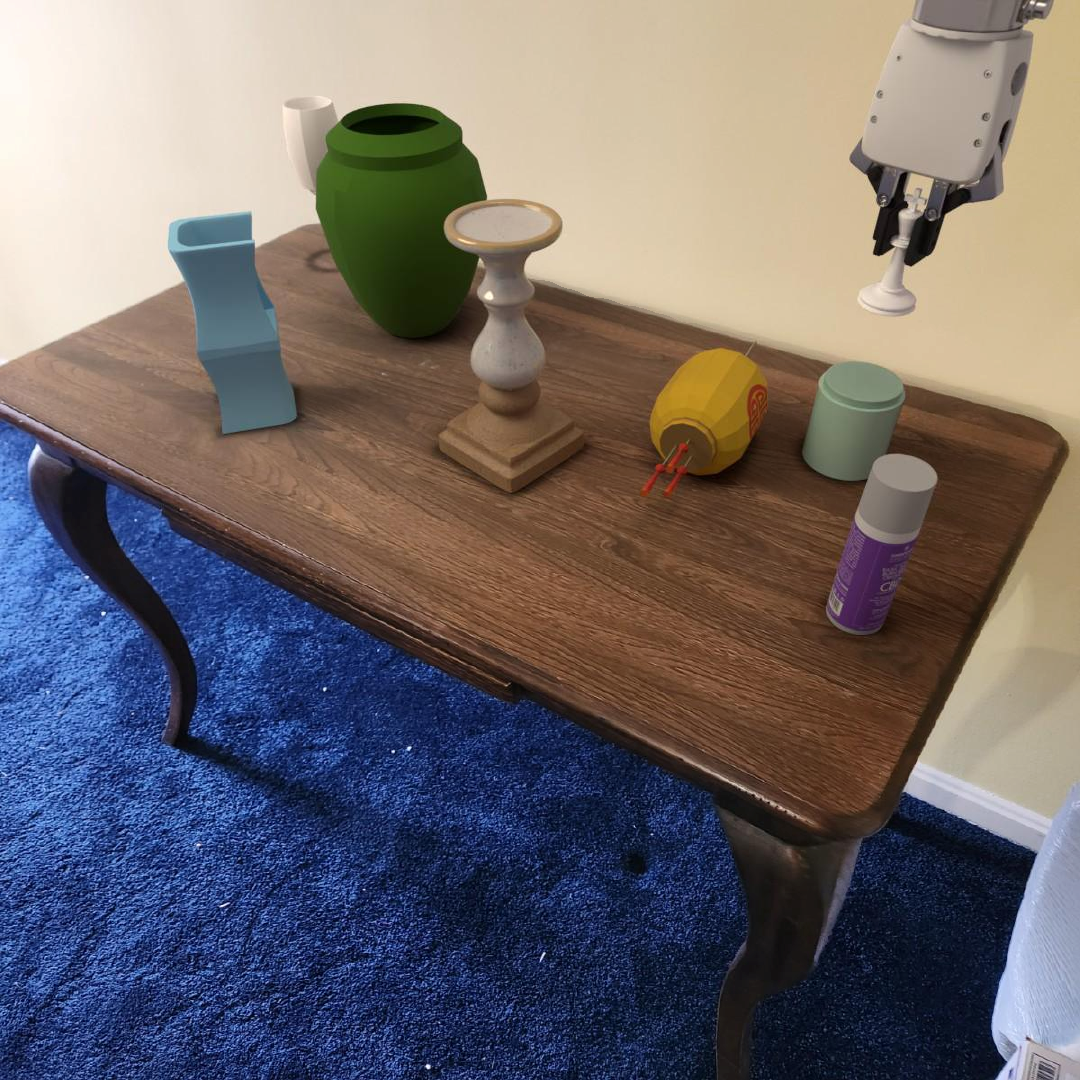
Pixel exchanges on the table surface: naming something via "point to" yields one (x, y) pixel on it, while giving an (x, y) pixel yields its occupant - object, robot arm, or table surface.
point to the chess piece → (895, 269)
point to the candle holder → (507, 351)
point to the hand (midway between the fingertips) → (900, 254)
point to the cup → (307, 135)
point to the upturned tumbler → (852, 419)
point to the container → (880, 542)
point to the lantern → (707, 414)
